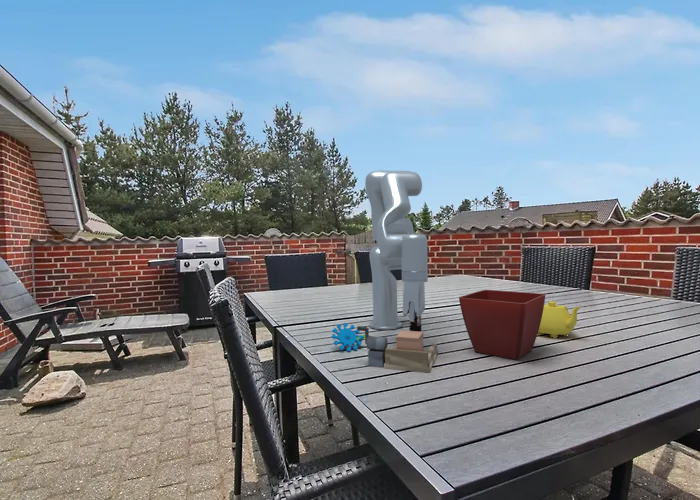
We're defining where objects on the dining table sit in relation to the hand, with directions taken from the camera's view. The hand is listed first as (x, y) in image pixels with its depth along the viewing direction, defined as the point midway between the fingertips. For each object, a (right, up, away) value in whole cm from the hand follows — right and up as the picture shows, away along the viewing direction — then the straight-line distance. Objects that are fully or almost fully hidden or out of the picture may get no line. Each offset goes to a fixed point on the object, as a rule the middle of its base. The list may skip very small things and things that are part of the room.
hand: (415, 338), depth 112 cm
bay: (-6, -5, -4) cm, 8 cm away
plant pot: (+26, -4, +1) cm, 27 cm away
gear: (-20, -5, +8) cm, 22 cm away
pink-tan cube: (-3, -4, -8) cm, 9 cm away
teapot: (+51, -3, +19) cm, 54 cm away
